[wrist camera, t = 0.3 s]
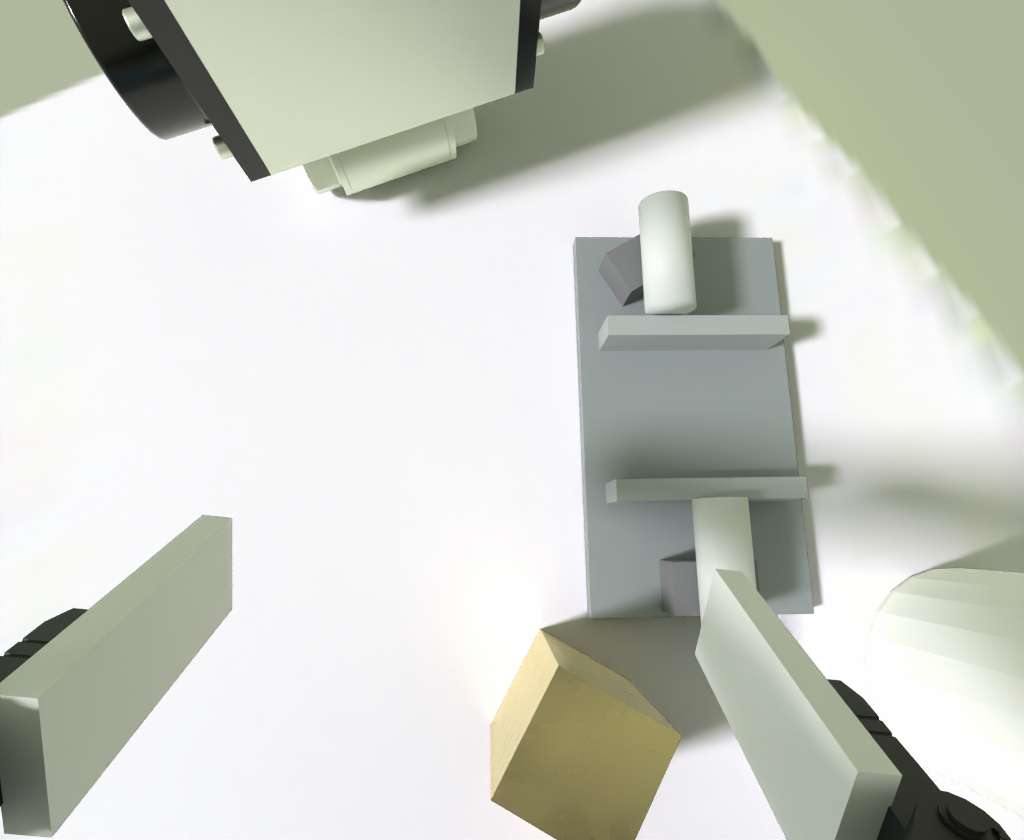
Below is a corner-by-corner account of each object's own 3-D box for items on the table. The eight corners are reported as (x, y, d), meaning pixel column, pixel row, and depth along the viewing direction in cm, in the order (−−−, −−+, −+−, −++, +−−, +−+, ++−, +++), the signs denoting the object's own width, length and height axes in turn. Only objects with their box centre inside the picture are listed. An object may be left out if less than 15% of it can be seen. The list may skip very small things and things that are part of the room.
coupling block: (581, 778, 28) (618, 876, 20) (490, 724, 28) (490, 799, 20) (628, 680, 28) (681, 736, 21) (539, 628, 29) (558, 665, 21)
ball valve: (504, 44, 35) (518, -436, 18) (559, 161, 34) (634, -234, 16) (214, 138, 33) (-90, -297, 16) (260, 266, 32) (-17, -55, 14)
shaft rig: (803, 610, 29) (871, 628, 24) (587, 615, 29) (609, 634, 24) (763, 245, 33) (815, 191, 28) (572, 245, 33) (588, 190, 27)
